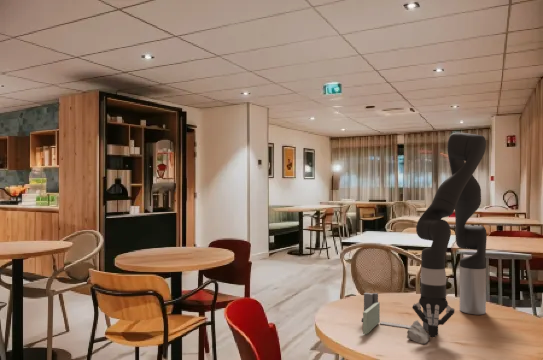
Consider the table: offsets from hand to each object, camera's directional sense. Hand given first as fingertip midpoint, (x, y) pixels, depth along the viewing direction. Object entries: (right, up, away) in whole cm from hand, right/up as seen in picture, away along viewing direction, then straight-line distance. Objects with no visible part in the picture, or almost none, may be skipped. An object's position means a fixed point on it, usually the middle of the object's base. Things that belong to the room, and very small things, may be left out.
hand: (433, 336), depth 133 cm
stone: (-4, -2, +3) cm, 5 cm away
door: (-18, -1, +10) cm, 21 cm away
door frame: (-6, -1, +13) cm, 14 cm away
